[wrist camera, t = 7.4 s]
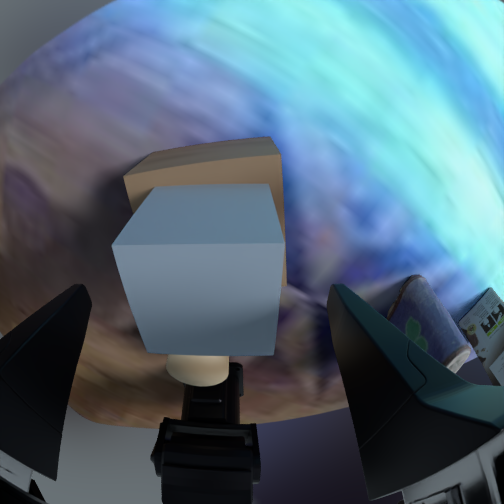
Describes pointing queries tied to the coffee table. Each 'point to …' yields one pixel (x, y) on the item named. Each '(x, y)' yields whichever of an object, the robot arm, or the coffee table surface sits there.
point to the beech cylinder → (198, 369)
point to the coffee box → (487, 334)
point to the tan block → (212, 171)
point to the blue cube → (204, 269)
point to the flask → (428, 323)
